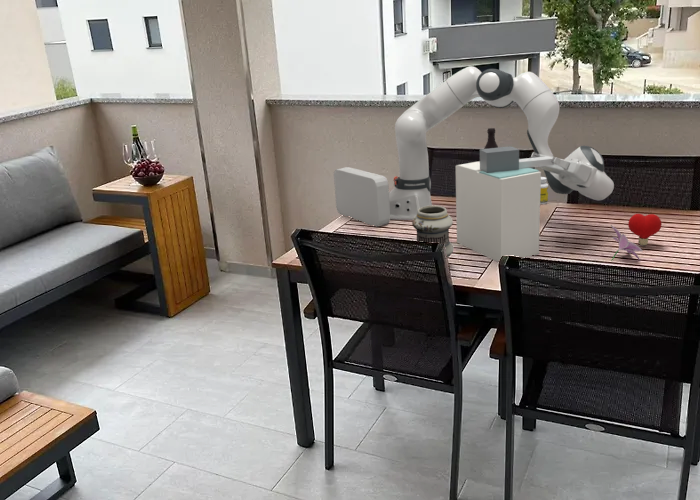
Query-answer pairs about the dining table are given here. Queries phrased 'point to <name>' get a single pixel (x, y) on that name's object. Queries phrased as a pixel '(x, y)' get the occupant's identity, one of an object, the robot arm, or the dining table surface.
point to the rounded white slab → (362, 196)
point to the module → (508, 160)
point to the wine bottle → (491, 139)
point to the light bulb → (644, 226)
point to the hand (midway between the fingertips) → (543, 157)
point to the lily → (625, 244)
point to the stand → (498, 211)
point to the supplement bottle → (544, 191)
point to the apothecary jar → (434, 226)
